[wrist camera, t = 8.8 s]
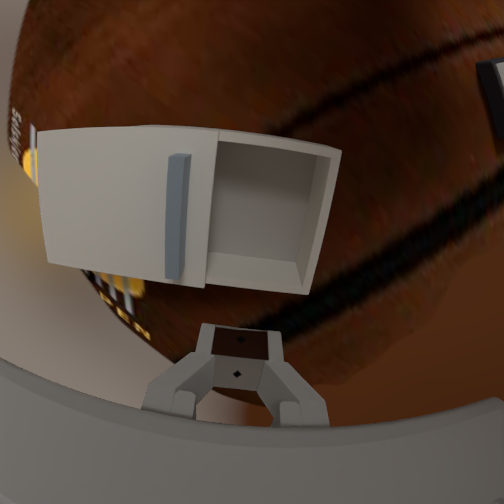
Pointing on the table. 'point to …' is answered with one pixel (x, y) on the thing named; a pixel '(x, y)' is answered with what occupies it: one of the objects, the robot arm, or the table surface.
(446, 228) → the table surface
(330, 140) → the table surface
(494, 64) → the calculator
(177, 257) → the lid
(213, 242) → the box
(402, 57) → the table surface
